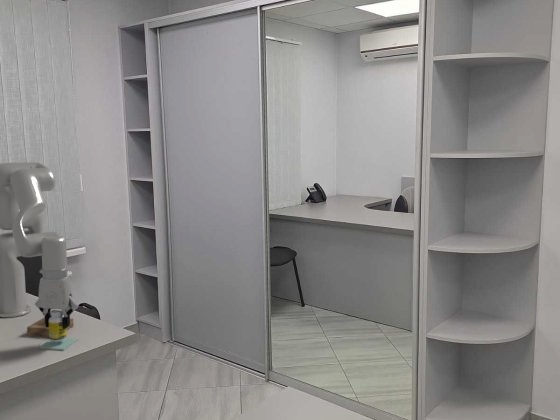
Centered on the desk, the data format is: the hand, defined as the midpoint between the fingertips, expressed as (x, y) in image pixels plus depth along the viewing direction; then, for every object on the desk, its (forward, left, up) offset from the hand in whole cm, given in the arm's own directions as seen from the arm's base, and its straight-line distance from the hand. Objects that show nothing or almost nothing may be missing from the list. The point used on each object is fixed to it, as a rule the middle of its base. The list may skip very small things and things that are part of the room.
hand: (57, 326), depth 182 cm
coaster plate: (0, 0, -6) cm, 6 cm away
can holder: (-9, +11, -6) cm, 16 cm away
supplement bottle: (0, 0, -5) cm, 5 cm away
